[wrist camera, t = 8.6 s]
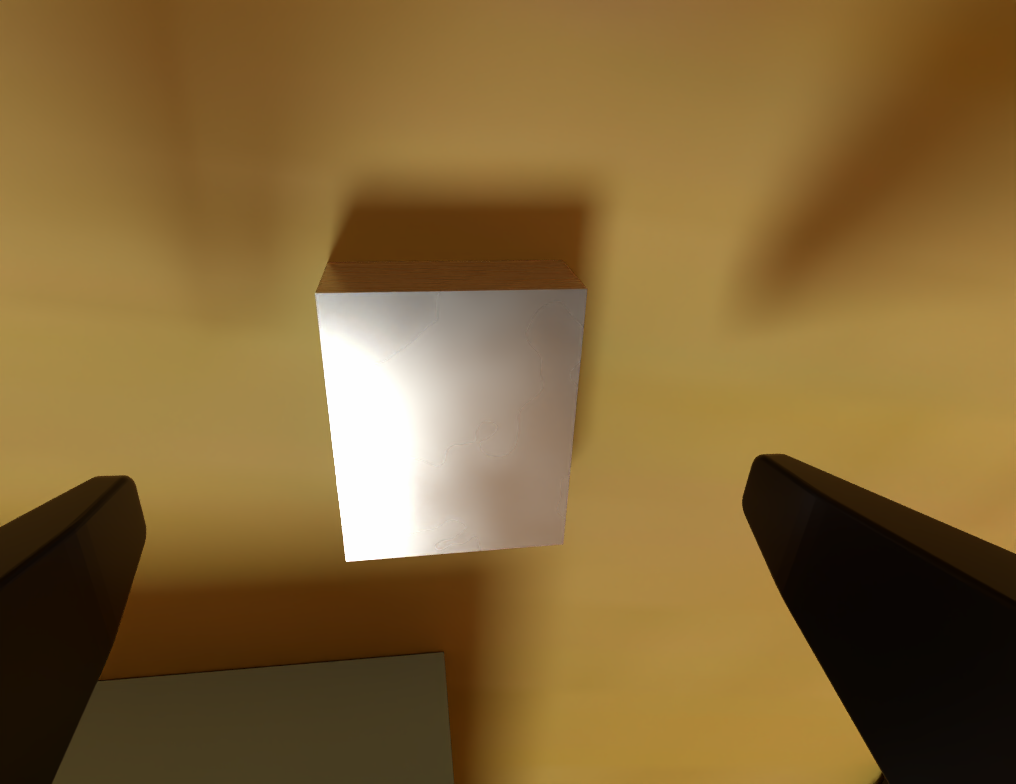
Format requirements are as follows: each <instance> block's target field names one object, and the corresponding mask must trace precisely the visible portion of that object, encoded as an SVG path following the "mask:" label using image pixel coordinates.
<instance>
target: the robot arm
mask: <svg viewBox="0 0 1016 784" xmlns="http://www.w3.org/2000/svg"><path fill="white" fill-rule="evenodd" d="M742 506H743V511H744V514H745V516H746V519H747V521H748V523H749V525H750V528H751V530H752V532H753V534H754V537H755V539H756V541H757V543H758V546H759V548H760V550H761V552H762V555H763V557H764V559H765V561H766V564H767V566H768V568H769V570H770V573H771V575H772V577H773V579H774V582H775V584H776V586H777V588H778V590H779V592H780V594H781V596H782V598H783V600H784V602H785V604H786V605H787V607H788V609H789V611H790V613H791V614H792V616H793V618H794V620H795V621H796V623H797V625H798V627H799V628H800V630H801V632H802V634H803V635H804V637H805V639H806V641H807V642H808V644H809V646H810V647H811V649H812V651H813V653H814V654H815V656H816V658H817V660H818V661H819V663H820V665H821V667H822V668H823V670H824V672H825V674H826V675H827V677H828V679H829V681H830V682H831V684H832V686H833V688H834V689H835V691H836V693H837V695H838V696H839V698H840V700H841V702H842V703H843V705H844V707H845V709H846V710H847V712H848V714H849V715H850V717H851V719H852V721H853V722H854V724H855V726H856V728H857V729H858V731H859V733H860V735H861V736H862V738H863V740H864V742H865V743H866V745H867V747H868V749H869V750H870V752H871V754H872V756H873V757H874V759H875V761H876V763H877V764H878V766H879V768H880V770H881V771H882V773H883V775H884V777H885V779H884V781H883V783H882V784H1016V554H1015V553H1013V552H1010V551H1008V550H1006V549H1003V548H1001V547H999V546H996V545H994V544H992V543H989V542H987V541H985V540H982V539H980V538H978V537H975V536H973V535H971V534H968V533H966V532H964V531H961V530H959V529H957V528H955V527H952V526H950V525H948V524H945V523H943V522H941V521H938V520H936V519H934V518H931V517H929V516H927V515H924V514H922V513H920V512H917V511H915V510H913V509H910V508H908V507H906V506H903V505H901V504H899V503H897V502H894V501H892V500H890V499H887V498H885V497H883V496H880V495H878V494H876V493H873V492H871V491H869V490H866V489H864V488H862V487H859V486H857V485H855V484H852V483H850V482H848V481H845V480H843V479H841V478H838V477H836V476H834V475H832V474H829V473H827V472H825V471H822V470H820V469H818V468H815V467H813V466H811V465H808V464H806V463H804V462H801V461H799V460H797V459H794V458H792V457H790V456H787V455H785V454H762V455H759V456H757V457H756V458H755V459H754V461H753V463H752V466H751V470H750V473H749V477H748V480H747V484H746V487H745V490H744V494H743V499H742ZM145 539H146V524H145V520H144V516H143V512H142V508H141V504H140V500H139V496H138V492H137V488H136V485H135V483H134V481H133V479H132V478H130V477H129V476H125V475H121V476H98V477H94V478H91V479H90V480H88V481H86V482H84V483H82V484H80V485H78V486H76V487H75V488H73V489H71V490H69V491H67V492H65V493H63V494H61V495H60V496H58V497H56V498H54V499H52V500H50V501H48V502H46V503H45V504H43V505H41V506H39V507H37V508H35V509H33V510H31V511H30V512H28V513H26V514H24V515H22V516H20V517H18V518H16V519H14V520H13V521H11V522H9V523H7V524H5V525H3V526H1V527H0V784H52V783H53V780H54V778H55V776H56V774H57V771H58V769H59V767H60V765H61V762H62V760H63V758H64V756H65V753H66V751H67V749H68V747H69V744H70V742H71V740H72V737H73V735H74V733H75V731H76V728H77V726H78V724H79V722H80V719H81V717H82V715H83V713H84V710H85V708H86V706H87V704H88V701H89V699H90V697H91V695H92V692H93V690H94V688H95V686H96V683H97V681H98V679H99V677H100V674H101V672H102V670H103V667H104V665H105V663H106V660H107V658H108V656H109V653H110V651H111V648H112V646H113V643H114V640H115V637H116V634H117V631H118V628H119V625H120V622H121V619H122V615H123V612H124V609H125V606H126V602H127V599H128V596H129V593H130V589H131V586H132V583H133V580H134V576H135V573H136V570H137V567H138V563H139V560H140V557H141V554H142V550H143V547H144V544H145Z"/></svg>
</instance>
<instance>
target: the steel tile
mask: <svg viewBox="0 0 1016 784" xmlns="http://www.w3.org/2000/svg"><path fill="white" fill-rule="evenodd" d="M315 296H316V305H317V314H318V322H319V331H320V340H321V348H322V357H323V366H324V374H325V383H326V392H327V400H328V409H329V418H330V426H331V435H332V444H333V452H334V461H335V470H336V478H337V487H338V496H339V504H340V513H341V522H342V530H343V539H344V548H345V556H346V562H348V561H360V560H373V559H385V558H398V557H410V556H423V555H435V554H448V553H460V552H473V551H485V550H498V549H510V548H523V547H535V546H548V545H561V544H563V541H564V531H565V520H566V509H567V499H568V488H569V478H570V467H571V456H572V446H573V435H574V425H575V414H576V403H577V393H578V382H579V372H580V361H581V350H582V340H583V329H584V319H585V308H586V297H587V288H586V287H585V286H584V285H583V283H582V282H581V281H580V280H579V279H578V278H577V277H576V275H575V274H574V273H573V272H572V271H571V270H570V268H569V267H568V266H567V265H566V264H565V263H564V262H563V260H495V261H390V262H328V263H327V265H326V268H325V270H324V272H323V275H322V277H321V280H320V282H319V285H318V287H317V290H316V292H315Z"/></svg>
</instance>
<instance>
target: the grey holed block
mask: <svg viewBox="0 0 1016 784" xmlns="http://www.w3.org/2000/svg"><path fill="white" fill-rule="evenodd" d="M52 784H454V776H453V763H452V750H451V737H450V724H449V711H448V698H447V685H446V672H445V659H444V652H440V653H428V654H416V655H405V656H393V657H381V658H369V659H357V660H346V661H334V662H322V663H310V664H298V665H287V666H275V667H263V668H251V669H239V670H227V671H216V672H204V673H192V674H180V675H168V676H157V677H145V678H133V679H121V680H109V681H98V682H97V683H96V686H95V688H94V690H93V692H92V695H91V697H90V699H89V701H88V704H87V706H86V708H85V710H84V713H83V715H82V717H81V719H80V722H79V724H78V726H77V728H76V731H75V733H74V735H73V737H72V740H71V742H70V744H69V747H68V749H67V751H66V753H65V756H64V758H63V760H62V762H61V765H60V767H59V769H58V771H57V774H56V776H55V778H54V780H53V783H52Z"/></svg>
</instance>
